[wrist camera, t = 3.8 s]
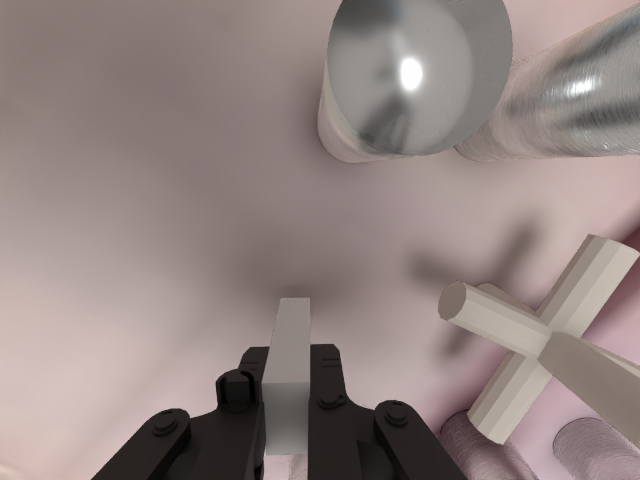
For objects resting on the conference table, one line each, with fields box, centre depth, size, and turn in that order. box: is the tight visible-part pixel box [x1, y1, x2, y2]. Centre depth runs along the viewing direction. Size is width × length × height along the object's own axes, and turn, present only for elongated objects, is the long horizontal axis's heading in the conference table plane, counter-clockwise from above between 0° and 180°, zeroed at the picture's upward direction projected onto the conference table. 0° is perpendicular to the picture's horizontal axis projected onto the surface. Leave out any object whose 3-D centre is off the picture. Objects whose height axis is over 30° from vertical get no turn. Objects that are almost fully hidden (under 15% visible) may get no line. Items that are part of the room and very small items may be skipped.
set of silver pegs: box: [289, 0, 640, 480], centre depth 14 cm, size 26×23×10 cm
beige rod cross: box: [438, 234, 640, 449], centre depth 14 cm, size 10×10×10 cm
